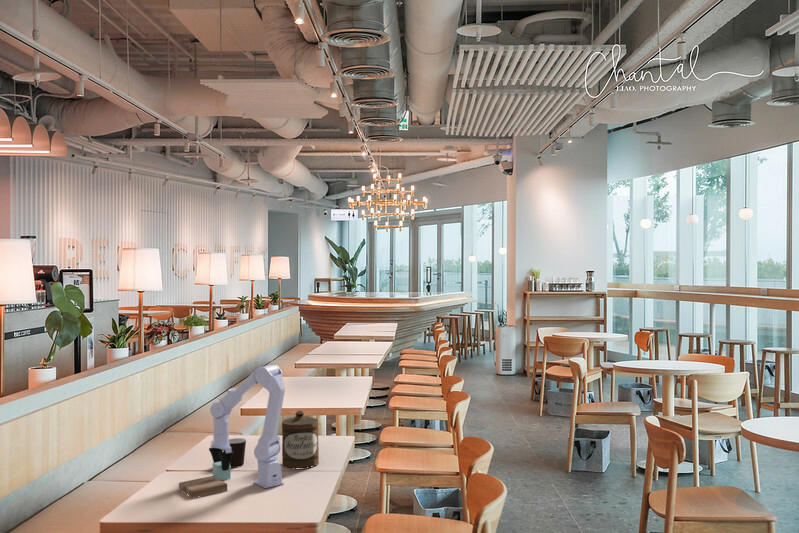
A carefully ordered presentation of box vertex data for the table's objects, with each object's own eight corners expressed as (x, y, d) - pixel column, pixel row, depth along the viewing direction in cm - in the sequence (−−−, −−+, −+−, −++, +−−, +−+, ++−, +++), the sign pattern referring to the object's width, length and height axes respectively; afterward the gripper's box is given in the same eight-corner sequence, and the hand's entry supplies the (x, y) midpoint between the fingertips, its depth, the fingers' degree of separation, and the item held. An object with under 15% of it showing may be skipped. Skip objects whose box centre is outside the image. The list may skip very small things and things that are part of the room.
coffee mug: (243, 467, 275) (243, 443, 275) (222, 468, 275) (222, 443, 275) (250, 460, 286) (250, 436, 286) (230, 460, 286) (229, 436, 286)
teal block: (230, 478, 260) (230, 463, 260) (218, 481, 257) (217, 465, 257) (225, 476, 264) (224, 460, 264) (212, 478, 261) (212, 463, 261)
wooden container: (284, 471, 269) (283, 415, 270) (280, 461, 284) (280, 408, 284) (321, 467, 273) (320, 413, 274) (315, 458, 288) (315, 406, 288)
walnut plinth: (227, 490, 246) (227, 483, 246) (192, 498, 238) (192, 491, 238) (213, 482, 256) (213, 475, 256) (179, 489, 248) (179, 482, 248)
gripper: (203, 430, 264) (204, 465, 264) (218, 437, 253) (219, 474, 253) (220, 428, 268) (221, 462, 268) (236, 434, 257) (236, 470, 257)
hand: (221, 467), depth 261 cm, fingers open, 7 cm apart
